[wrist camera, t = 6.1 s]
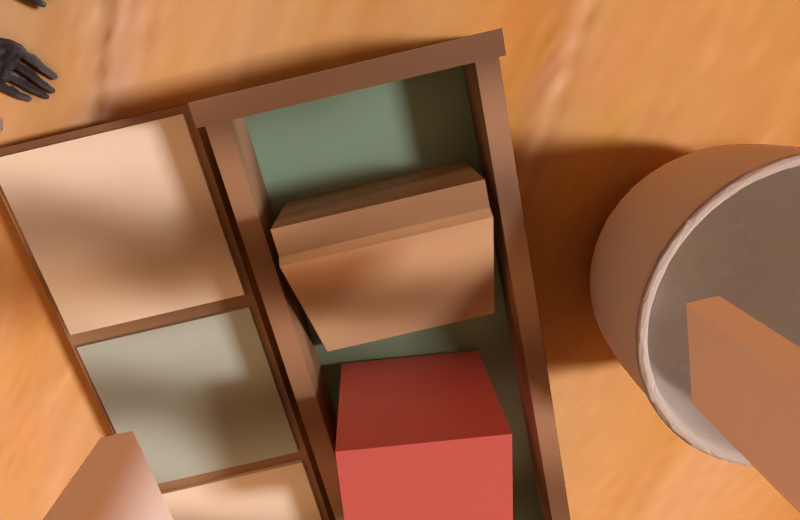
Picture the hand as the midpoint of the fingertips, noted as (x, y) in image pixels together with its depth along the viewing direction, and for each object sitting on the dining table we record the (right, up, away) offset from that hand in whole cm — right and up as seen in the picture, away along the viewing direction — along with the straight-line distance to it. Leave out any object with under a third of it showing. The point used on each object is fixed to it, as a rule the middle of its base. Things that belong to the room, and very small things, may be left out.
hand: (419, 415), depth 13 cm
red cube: (0, -2, +9) cm, 9 cm away
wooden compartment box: (-5, -1, +12) cm, 13 cm away
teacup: (+13, +5, +12) cm, 19 cm away
